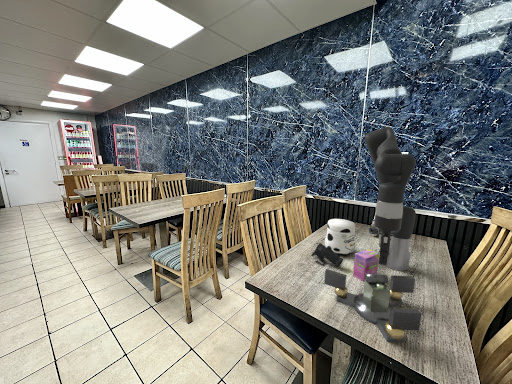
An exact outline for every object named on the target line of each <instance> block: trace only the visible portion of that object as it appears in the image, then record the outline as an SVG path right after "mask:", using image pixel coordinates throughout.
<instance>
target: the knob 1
mask: <svg viewBox="0 0 512 384" xmlns="http://www.w3.org/2000/svg"><path fill="white" fill-rule="evenodd" d="M415 283H416V278H415V277H413V276H412V275H411V276H410V275H392V274H391V275H390V280H389V286H387V287H388V288H389V289H390V297H391V298H393V299H396V300H399V299H402V294H403V293H408V294H409V293H411V294H414V289H415Z"/></svg>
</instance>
